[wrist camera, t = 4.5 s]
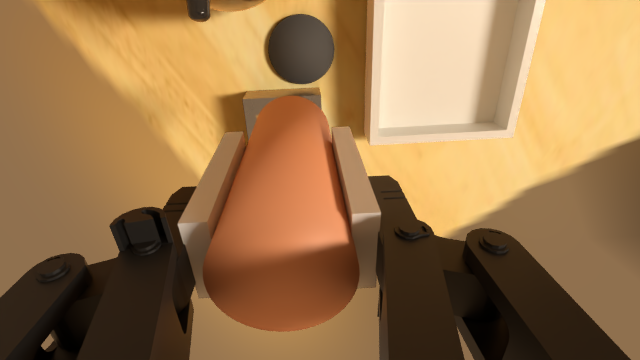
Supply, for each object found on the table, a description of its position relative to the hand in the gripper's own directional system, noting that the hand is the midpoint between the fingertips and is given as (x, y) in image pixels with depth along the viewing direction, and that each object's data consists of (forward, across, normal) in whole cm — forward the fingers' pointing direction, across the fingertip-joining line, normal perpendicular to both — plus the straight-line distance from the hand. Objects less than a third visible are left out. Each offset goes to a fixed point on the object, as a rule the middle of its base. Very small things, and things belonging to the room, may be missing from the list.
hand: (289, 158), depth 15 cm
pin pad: (+20, +1, +2) cm, 20 cm away
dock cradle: (+20, +14, 0) cm, 24 cm away
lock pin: (+4, 0, 0) cm, 4 cm away
